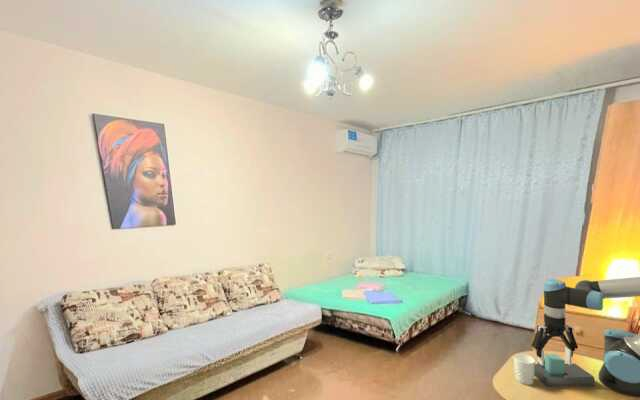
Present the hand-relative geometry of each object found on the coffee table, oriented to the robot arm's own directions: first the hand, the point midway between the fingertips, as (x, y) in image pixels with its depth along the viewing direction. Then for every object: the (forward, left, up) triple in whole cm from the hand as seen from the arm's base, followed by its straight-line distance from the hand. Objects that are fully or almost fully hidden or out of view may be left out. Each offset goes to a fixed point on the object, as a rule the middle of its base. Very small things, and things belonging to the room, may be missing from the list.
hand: (554, 363), depth 136 cm
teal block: (0, 0, -7) cm, 7 cm away
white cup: (+12, +7, -7) cm, 15 cm away
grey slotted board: (-3, -2, -7) cm, 8 cm away
